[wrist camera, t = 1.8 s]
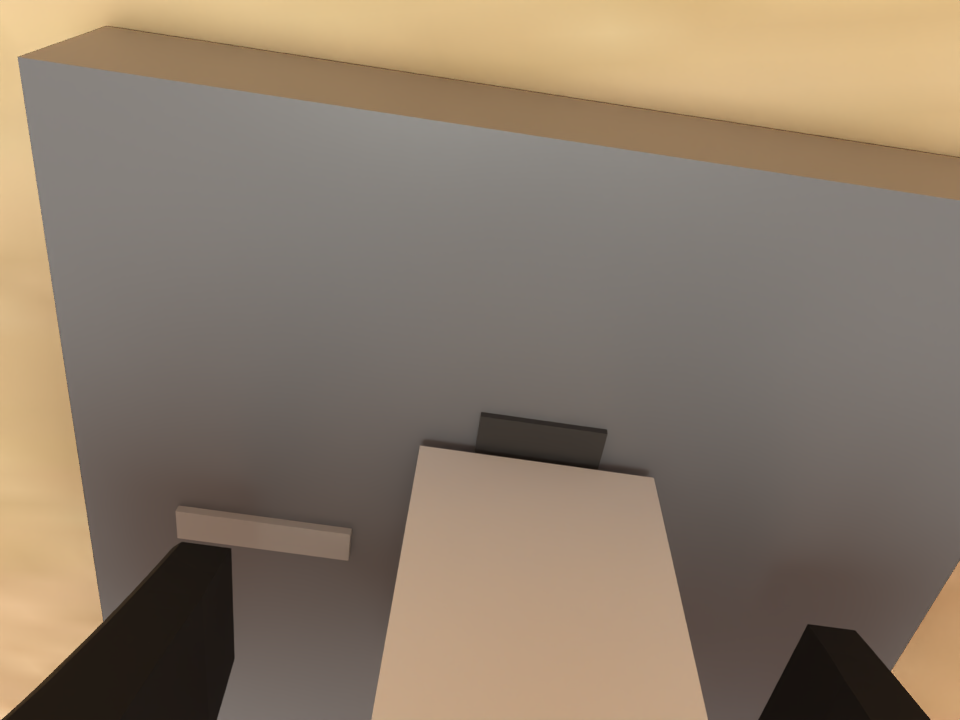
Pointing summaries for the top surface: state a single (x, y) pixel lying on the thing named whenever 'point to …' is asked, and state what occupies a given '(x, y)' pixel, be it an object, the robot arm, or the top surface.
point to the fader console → (490, 343)
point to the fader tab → (534, 598)
